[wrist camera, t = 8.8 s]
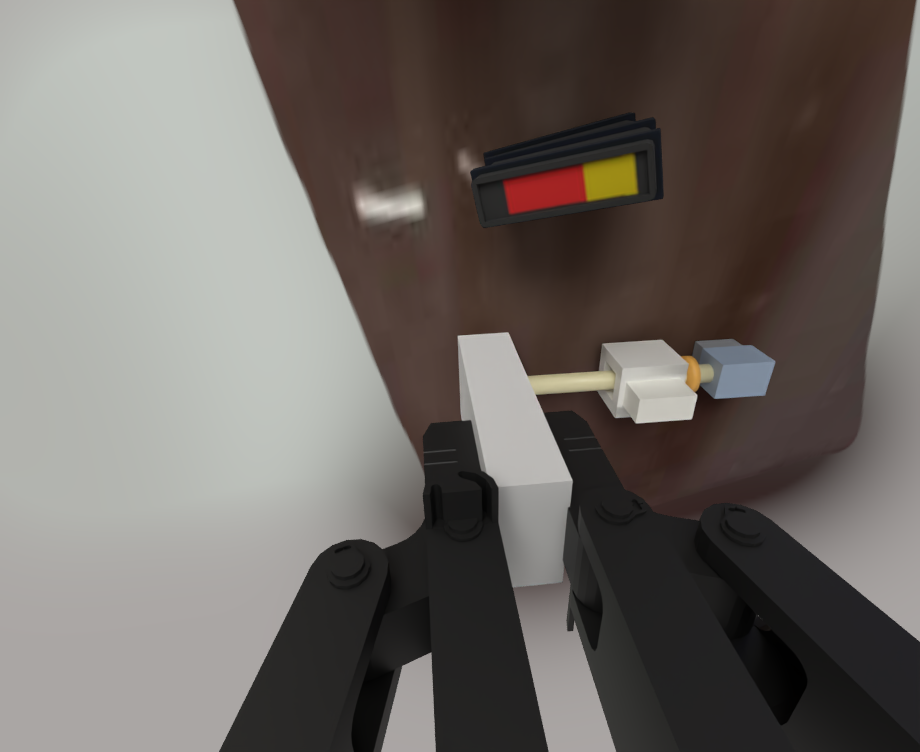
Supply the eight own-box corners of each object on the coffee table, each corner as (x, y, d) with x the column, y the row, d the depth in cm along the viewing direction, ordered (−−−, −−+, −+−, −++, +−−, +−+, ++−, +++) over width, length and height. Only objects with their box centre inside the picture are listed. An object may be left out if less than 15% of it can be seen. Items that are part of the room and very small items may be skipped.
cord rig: (477, 341, 48) (485, 369, 43) (741, 324, 50) (779, 349, 45) (477, 394, 51) (485, 426, 46) (727, 377, 53) (761, 405, 48)
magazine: (665, 152, 40) (663, 204, 28) (509, 184, 45) (453, 237, 34) (663, 100, 38) (659, 133, 26) (501, 139, 43) (438, 180, 32)
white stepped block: (602, 343, 48) (636, 385, 41) (662, 339, 48) (706, 380, 41) (596, 389, 50) (627, 437, 43) (653, 385, 51) (694, 432, 43)
